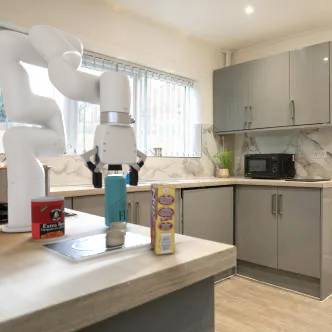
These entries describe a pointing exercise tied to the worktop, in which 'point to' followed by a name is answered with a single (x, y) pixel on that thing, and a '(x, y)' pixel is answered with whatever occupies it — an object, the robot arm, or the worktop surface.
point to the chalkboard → (93, 245)
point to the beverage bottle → (115, 197)
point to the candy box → (162, 218)
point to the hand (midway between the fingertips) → (116, 186)
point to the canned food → (47, 217)
